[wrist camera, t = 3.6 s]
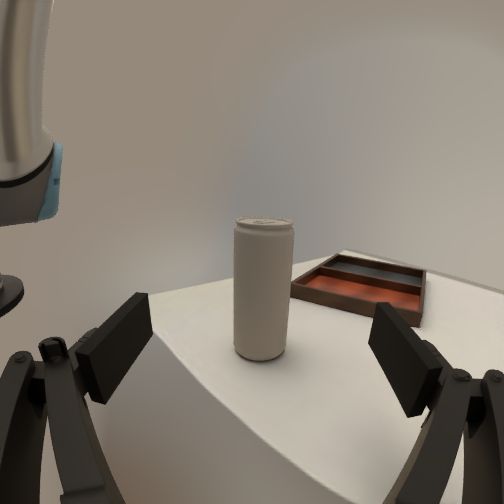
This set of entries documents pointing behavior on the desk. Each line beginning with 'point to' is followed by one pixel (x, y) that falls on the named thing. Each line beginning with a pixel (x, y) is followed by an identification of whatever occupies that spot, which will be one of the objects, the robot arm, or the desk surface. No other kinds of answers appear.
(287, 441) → the desk surface
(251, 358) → the beverage can
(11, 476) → the robot arm
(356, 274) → the sorting tray
